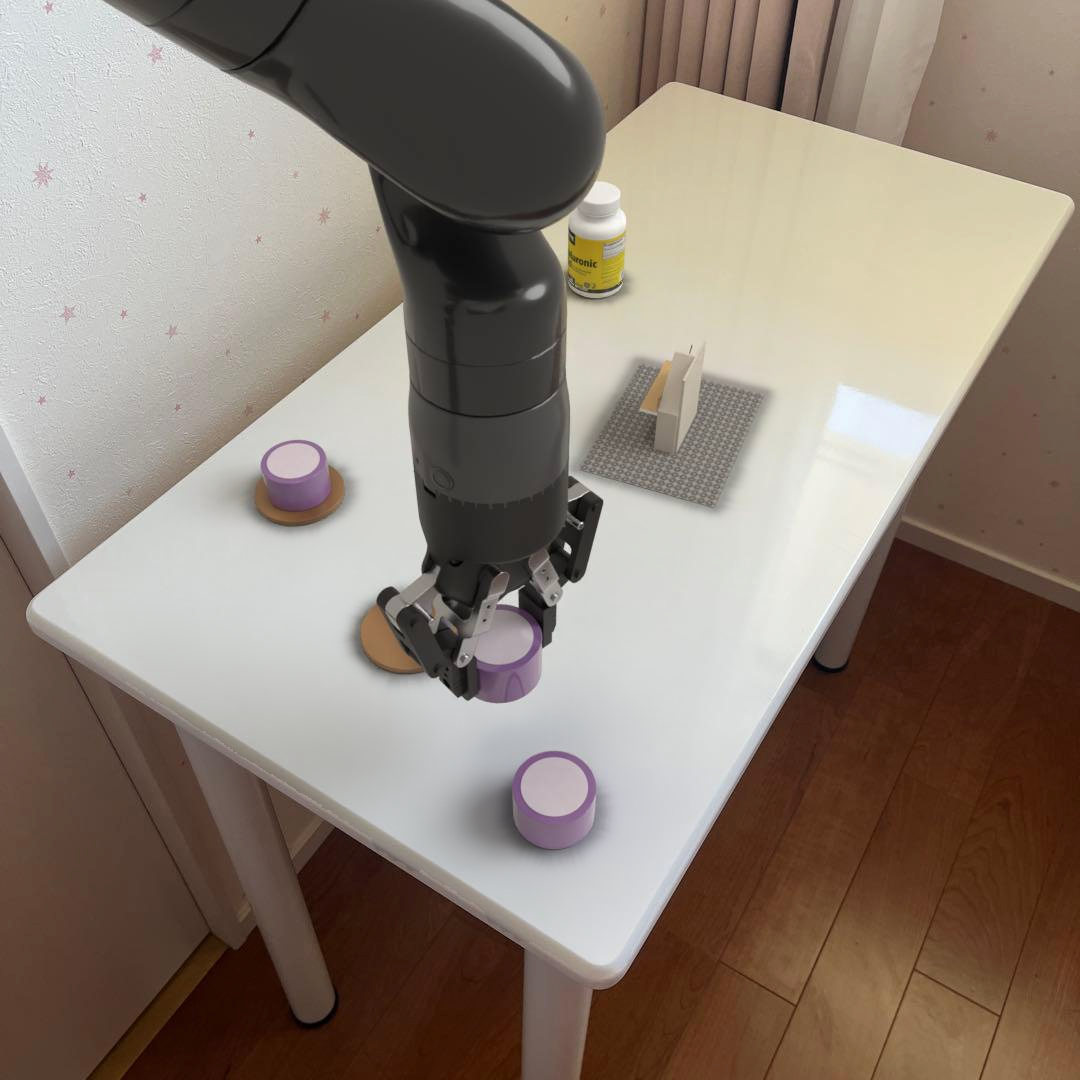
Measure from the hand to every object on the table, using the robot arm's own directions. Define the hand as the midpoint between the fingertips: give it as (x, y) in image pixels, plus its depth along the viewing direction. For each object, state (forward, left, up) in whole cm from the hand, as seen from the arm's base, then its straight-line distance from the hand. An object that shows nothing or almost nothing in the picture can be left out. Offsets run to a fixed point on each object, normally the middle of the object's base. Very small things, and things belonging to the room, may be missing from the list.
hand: (499, 662), depth 65 cm
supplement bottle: (+41, +34, -9) cm, 54 cm away
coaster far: (+3, +28, -9) cm, 30 cm away
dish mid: (0, 0, -1) cm, 1 cm away
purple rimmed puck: (-1, -6, -9) cm, 10 cm away
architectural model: (+31, +14, -9) cm, 35 cm away
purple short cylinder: (+3, +28, -8) cm, 30 cm away
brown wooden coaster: (+1, +11, -9) cm, 14 cm away
